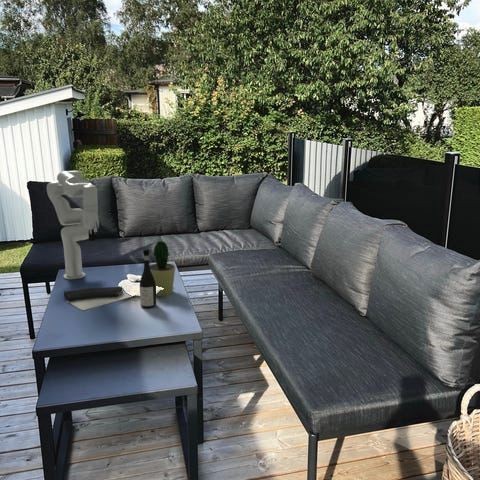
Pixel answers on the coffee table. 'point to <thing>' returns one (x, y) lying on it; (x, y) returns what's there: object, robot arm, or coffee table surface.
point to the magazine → (93, 293)
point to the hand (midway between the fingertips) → (92, 240)
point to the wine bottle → (147, 284)
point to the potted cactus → (162, 269)
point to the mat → (97, 301)
